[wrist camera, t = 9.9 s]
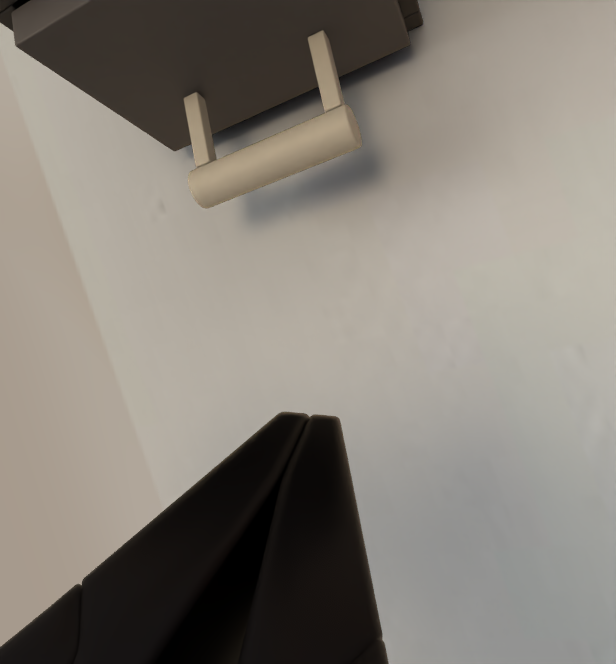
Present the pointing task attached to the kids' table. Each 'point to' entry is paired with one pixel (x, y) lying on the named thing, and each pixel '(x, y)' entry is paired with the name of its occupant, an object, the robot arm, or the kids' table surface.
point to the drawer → (217, 72)
